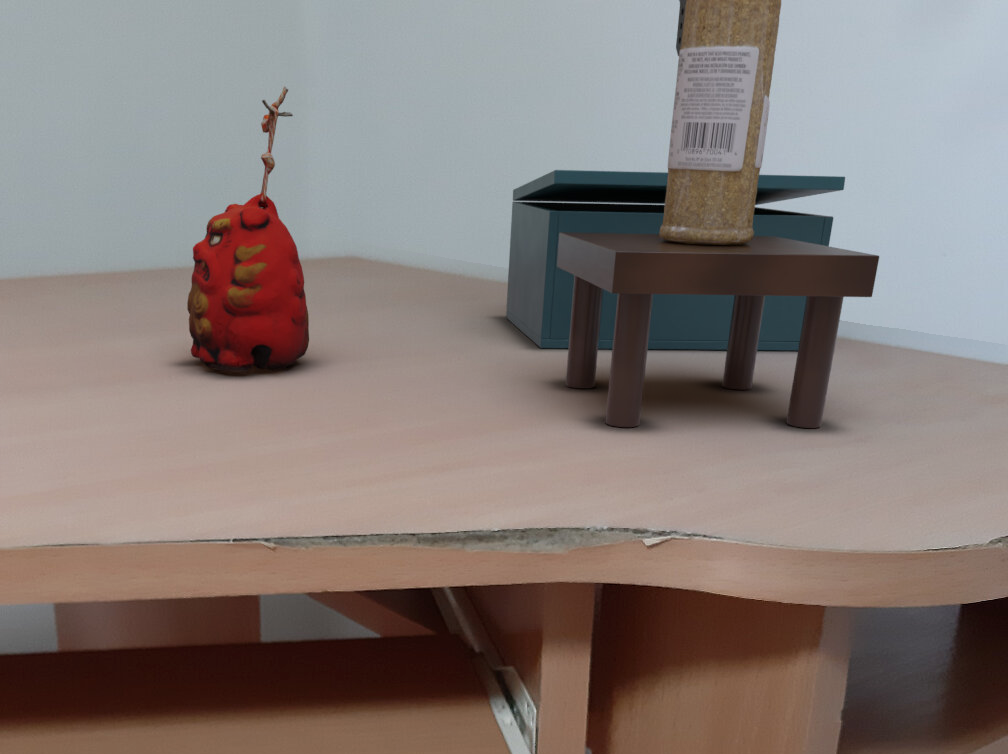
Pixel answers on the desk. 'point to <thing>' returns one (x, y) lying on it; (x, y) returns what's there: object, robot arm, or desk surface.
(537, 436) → the desk surface
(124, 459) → the desk surface
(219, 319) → the red clay folk toy
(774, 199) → the chest lid
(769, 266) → the stool
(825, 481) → the desk surface
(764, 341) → the chest
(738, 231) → the tan spice jar
